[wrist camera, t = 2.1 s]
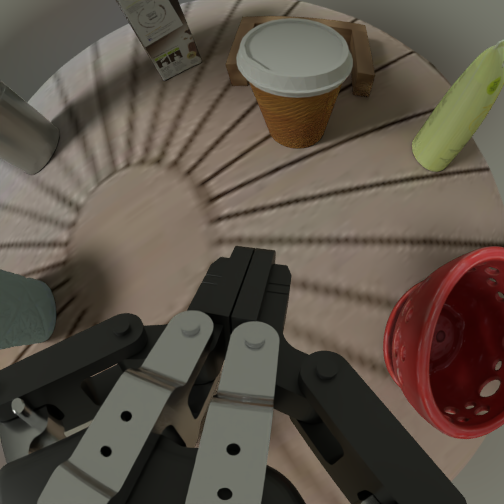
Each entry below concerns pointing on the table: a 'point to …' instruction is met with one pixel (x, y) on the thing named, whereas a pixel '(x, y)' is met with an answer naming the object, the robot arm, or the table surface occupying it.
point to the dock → (349, 31)
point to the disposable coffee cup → (295, 76)
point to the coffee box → (162, 34)
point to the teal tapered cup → (25, 310)
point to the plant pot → (452, 344)
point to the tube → (461, 111)
